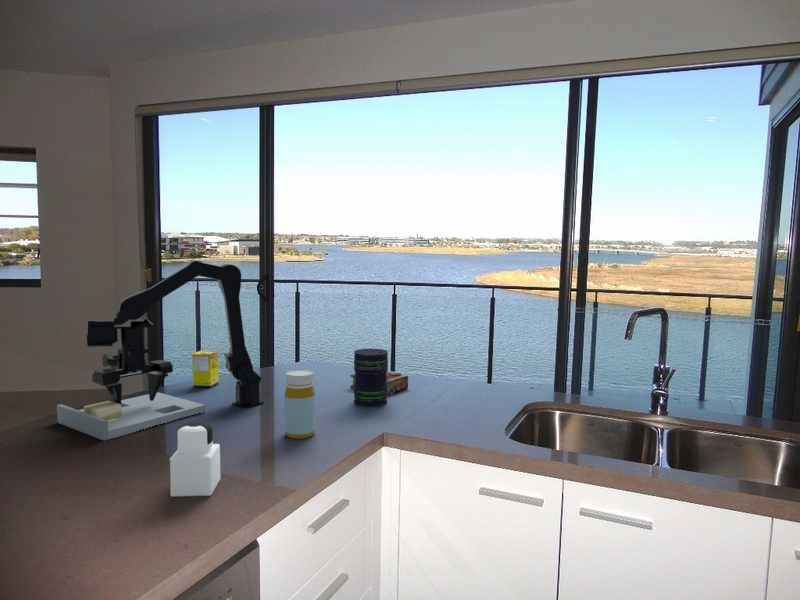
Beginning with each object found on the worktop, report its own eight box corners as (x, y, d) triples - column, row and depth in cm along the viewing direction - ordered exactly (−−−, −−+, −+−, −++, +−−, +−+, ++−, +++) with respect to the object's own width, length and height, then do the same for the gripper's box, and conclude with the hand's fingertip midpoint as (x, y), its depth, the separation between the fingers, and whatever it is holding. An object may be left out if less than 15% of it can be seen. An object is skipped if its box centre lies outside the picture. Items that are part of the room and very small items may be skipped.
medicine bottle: (182, 480, 103) (181, 418, 102) (220, 479, 103) (219, 418, 102) (169, 497, 96) (167, 431, 94) (211, 496, 96) (209, 430, 95)
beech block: (121, 416, 134) (121, 404, 134) (96, 422, 129) (96, 410, 129) (108, 412, 137) (108, 400, 137) (84, 418, 133) (83, 406, 132)
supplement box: (219, 383, 176) (218, 350, 175) (210, 388, 170) (210, 354, 169) (201, 383, 177) (200, 350, 176) (192, 387, 171) (192, 353, 170)
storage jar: (347, 404, 154) (347, 353, 153) (362, 396, 163) (363, 347, 162) (379, 409, 150) (379, 356, 149) (393, 400, 159) (393, 350, 158)
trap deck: (205, 412, 145) (205, 395, 145) (104, 440, 123) (103, 421, 122) (157, 398, 157) (157, 383, 157) (57, 422, 135) (56, 405, 135)
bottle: (319, 431, 131) (319, 371, 129) (305, 441, 124) (305, 377, 123) (294, 428, 133) (294, 368, 132) (279, 437, 126) (278, 374, 125)
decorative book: (373, 382, 182) (373, 367, 182) (411, 389, 173) (412, 374, 172) (350, 388, 173) (350, 373, 173) (389, 397, 164) (389, 381, 163)
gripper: (149, 337, 151) (151, 391, 152) (79, 346, 136) (82, 407, 137) (173, 341, 145) (174, 398, 146) (103, 351, 129) (105, 415, 131)
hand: (135, 404), depth 140 cm, fingers open, 9 cm apart
